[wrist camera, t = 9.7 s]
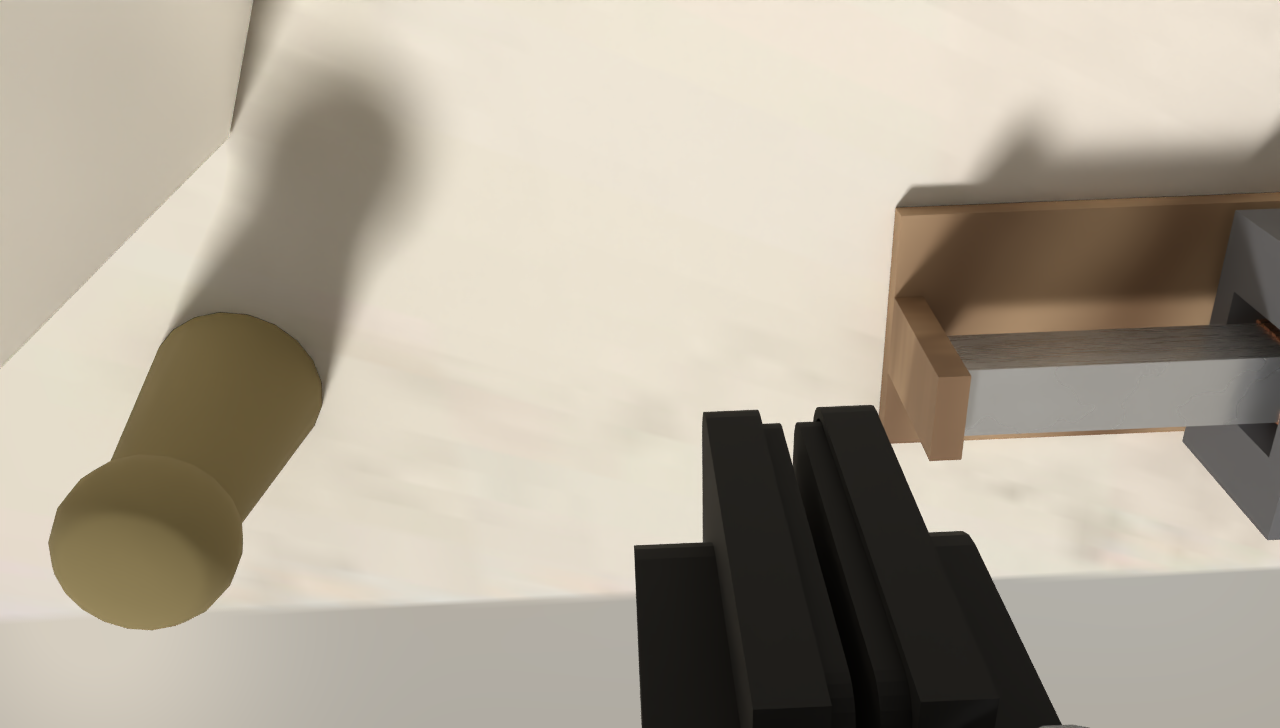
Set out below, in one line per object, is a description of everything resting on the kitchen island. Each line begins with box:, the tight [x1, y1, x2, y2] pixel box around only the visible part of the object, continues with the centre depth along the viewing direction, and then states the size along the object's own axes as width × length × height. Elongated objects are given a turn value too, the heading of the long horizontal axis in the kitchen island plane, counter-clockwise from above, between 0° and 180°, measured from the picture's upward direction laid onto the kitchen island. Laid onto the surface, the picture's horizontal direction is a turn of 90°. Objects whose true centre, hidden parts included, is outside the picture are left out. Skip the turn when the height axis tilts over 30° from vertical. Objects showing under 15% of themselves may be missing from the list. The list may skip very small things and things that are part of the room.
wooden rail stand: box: [879, 192, 1280, 461], centre depth 38 cm, size 18×9×7 cm, turn 92°
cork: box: [48, 312, 322, 630], centre depth 36 cm, size 6×6×11 cm
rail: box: [947, 319, 1280, 436], centre depth 37 cm, size 17×3×3 cm, turn 92°
